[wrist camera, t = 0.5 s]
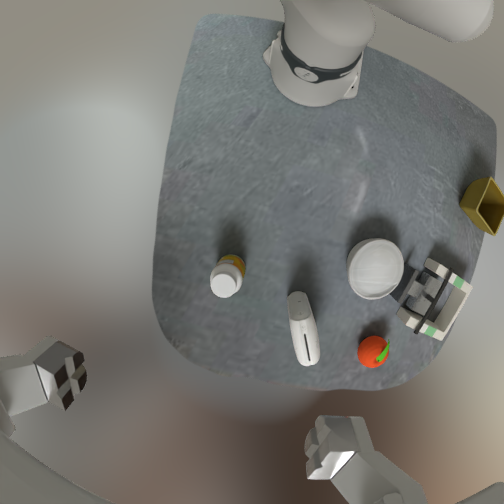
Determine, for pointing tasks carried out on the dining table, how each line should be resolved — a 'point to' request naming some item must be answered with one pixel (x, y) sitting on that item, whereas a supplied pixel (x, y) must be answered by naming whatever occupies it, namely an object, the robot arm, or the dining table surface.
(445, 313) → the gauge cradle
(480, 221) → the flower pot
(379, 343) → the red tomato
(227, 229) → the dining table surface
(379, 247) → the ramekin
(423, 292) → the grey metal pieces
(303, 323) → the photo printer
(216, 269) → the supplement bottle
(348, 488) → the robot arm
